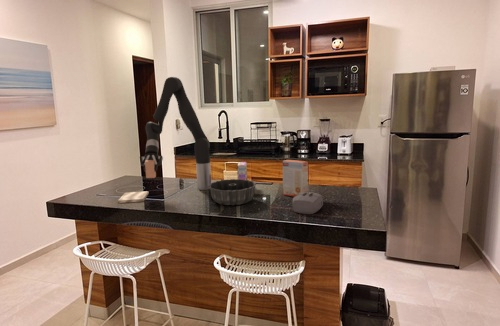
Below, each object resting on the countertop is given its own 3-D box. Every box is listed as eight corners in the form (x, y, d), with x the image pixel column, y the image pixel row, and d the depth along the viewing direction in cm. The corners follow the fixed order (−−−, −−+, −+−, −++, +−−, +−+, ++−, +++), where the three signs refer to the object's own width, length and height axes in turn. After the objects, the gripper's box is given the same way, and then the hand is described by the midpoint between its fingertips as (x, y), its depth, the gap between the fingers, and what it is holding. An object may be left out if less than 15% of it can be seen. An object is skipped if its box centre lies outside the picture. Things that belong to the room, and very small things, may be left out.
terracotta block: (156, 176, 194) (155, 159, 192) (154, 177, 189) (153, 161, 187) (147, 176, 193) (146, 160, 191) (146, 178, 188) (144, 161, 186)
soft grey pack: (317, 216, 152) (327, 204, 169) (318, 199, 150) (327, 189, 168) (287, 212, 159) (300, 201, 176) (287, 196, 157) (300, 187, 175)
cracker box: (308, 196, 185) (308, 161, 181) (302, 198, 181) (302, 162, 177) (288, 192, 194) (288, 159, 191) (282, 194, 190) (282, 160, 187)
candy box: (246, 190, 202) (246, 165, 199) (237, 190, 202) (236, 165, 200) (247, 185, 216) (246, 161, 213) (238, 185, 216) (238, 161, 213)
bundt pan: (246, 210, 163) (246, 191, 161) (201, 206, 172) (200, 188, 170) (262, 196, 187) (262, 180, 186) (221, 193, 196) (221, 178, 195)
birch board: (148, 193, 201) (148, 191, 201) (143, 201, 183) (143, 198, 183) (125, 194, 199) (125, 192, 199) (118, 203, 181) (117, 200, 181)
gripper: (139, 144, 194) (136, 167, 184) (163, 144, 196) (161, 166, 186) (141, 152, 200) (138, 174, 190) (164, 151, 202) (163, 173, 192)
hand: (150, 170), depth 188 cm, fingers closed on terracotta block, 5 cm apart
